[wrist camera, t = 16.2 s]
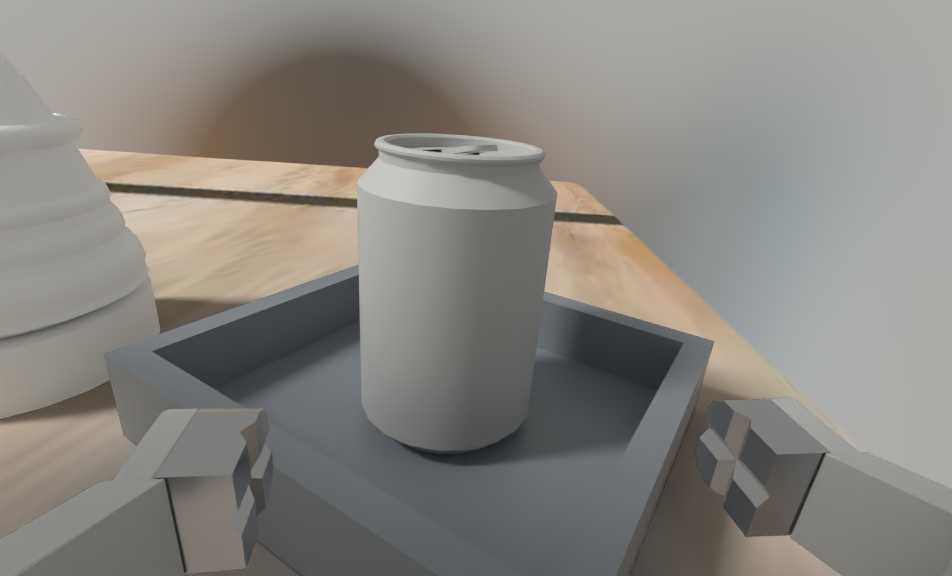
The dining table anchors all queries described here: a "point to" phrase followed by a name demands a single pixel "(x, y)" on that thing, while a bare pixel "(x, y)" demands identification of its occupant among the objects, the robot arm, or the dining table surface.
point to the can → (451, 287)
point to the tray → (427, 474)
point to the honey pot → (59, 259)
